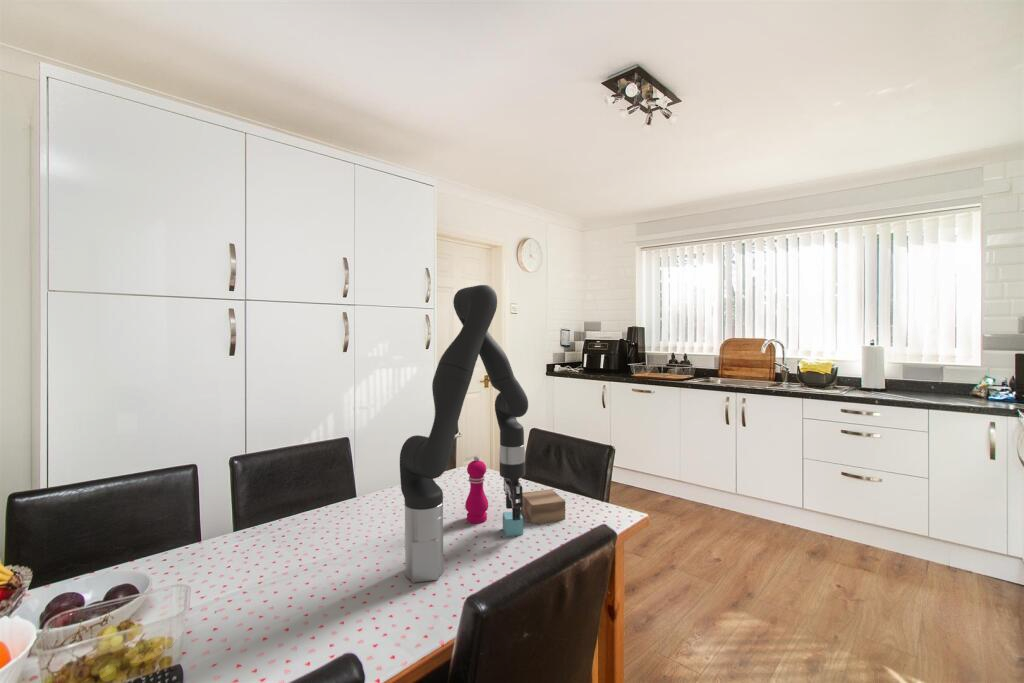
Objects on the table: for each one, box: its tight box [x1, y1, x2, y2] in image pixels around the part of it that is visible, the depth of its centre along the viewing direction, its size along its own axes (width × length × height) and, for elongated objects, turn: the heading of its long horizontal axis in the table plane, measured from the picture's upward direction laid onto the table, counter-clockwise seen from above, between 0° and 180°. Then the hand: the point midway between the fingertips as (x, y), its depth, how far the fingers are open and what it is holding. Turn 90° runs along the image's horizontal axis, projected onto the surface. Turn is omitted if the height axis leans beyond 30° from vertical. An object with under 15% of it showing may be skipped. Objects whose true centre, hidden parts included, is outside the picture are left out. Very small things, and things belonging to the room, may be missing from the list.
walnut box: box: [520, 488, 566, 525], centre depth 148 cm, size 11×11×6 cm
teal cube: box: [502, 511, 524, 537], centre depth 135 cm, size 5×5×5 cm
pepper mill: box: [464, 455, 489, 524], centre depth 144 cm, size 7×7×20 cm
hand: (513, 513), depth 136 cm, fingers open, 8 cm apart
